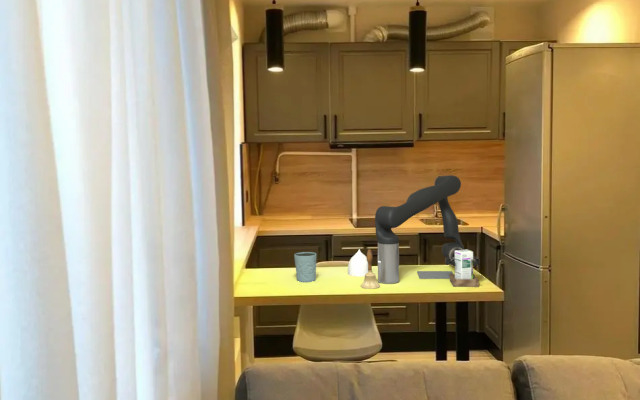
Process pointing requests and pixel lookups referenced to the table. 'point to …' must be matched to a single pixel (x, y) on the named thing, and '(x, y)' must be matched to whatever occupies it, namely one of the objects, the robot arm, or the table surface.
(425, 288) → the table surface
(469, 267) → the syrup box
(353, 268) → the teardrop
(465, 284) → the walnut collar
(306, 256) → the teal tapered cup
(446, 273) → the grey mat
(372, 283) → the hand bell
